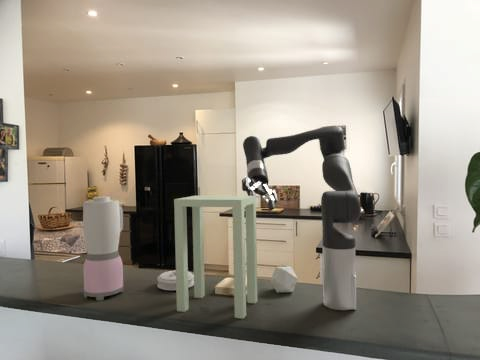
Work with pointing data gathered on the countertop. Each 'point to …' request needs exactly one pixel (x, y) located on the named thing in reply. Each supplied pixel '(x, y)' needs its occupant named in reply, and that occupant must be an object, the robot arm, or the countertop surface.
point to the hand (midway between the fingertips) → (262, 204)
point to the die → (284, 279)
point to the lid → (172, 280)
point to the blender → (102, 247)
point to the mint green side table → (198, 248)
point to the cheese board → (227, 286)
